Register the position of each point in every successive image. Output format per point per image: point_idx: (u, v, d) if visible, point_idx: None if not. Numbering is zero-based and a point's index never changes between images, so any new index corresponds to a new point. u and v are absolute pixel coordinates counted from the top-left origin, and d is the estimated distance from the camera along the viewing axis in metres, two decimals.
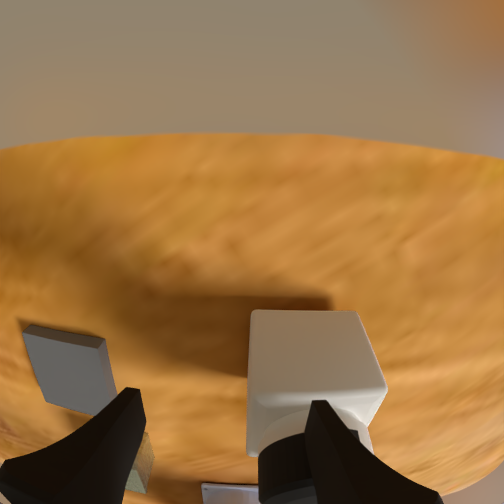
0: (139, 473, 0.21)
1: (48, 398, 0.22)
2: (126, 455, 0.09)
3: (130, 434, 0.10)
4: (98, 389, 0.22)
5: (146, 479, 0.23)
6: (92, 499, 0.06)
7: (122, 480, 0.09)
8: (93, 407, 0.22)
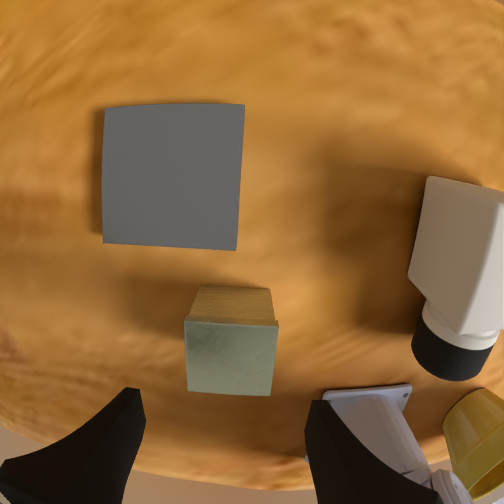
0: None
1: (111, 233, 0.17)
2: (126, 455, 0.09)
3: (130, 434, 0.10)
4: (223, 182, 0.16)
5: None
6: (92, 499, 0.06)
7: (122, 480, 0.09)
8: (198, 228, 0.17)
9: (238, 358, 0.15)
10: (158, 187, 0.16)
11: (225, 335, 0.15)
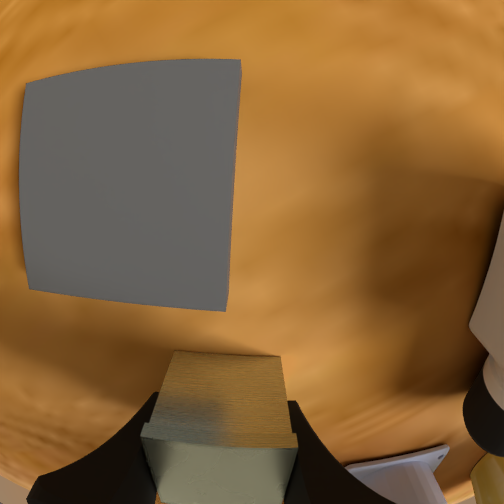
0: None
1: (37, 275, 0.10)
2: None
3: None
4: (202, 196, 0.09)
5: None
6: None
7: (154, 487, 0.09)
8: (162, 274, 0.10)
9: (232, 480, 0.08)
10: (95, 205, 0.09)
11: (209, 458, 0.08)
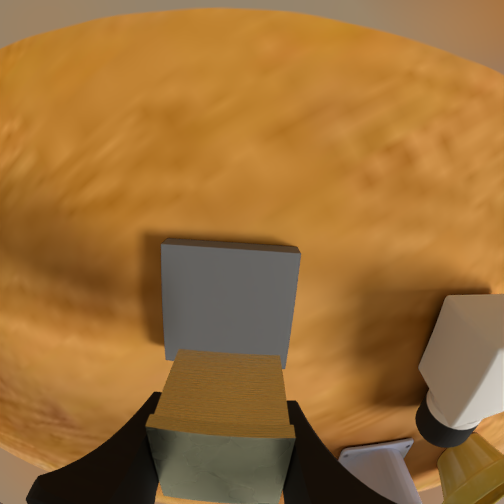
0: None
1: (173, 353, 0.19)
2: None
3: None
4: (278, 320, 0.19)
5: None
6: None
7: (154, 487, 0.09)
8: None
9: (232, 471, 0.09)
10: (219, 322, 0.19)
11: (211, 448, 0.08)
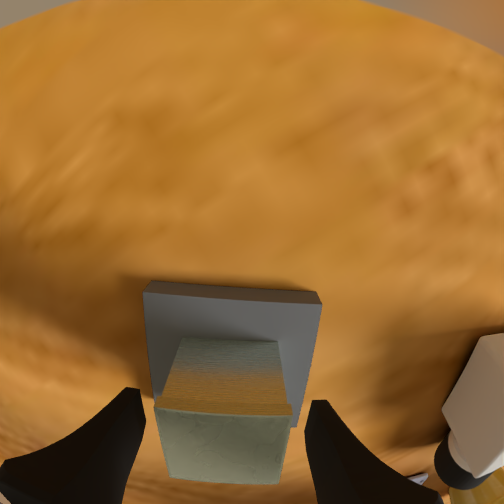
0: None
1: None
2: (126, 455, 0.09)
3: (130, 434, 0.10)
4: (290, 379, 0.15)
5: None
6: (92, 499, 0.06)
7: (122, 480, 0.09)
8: None
9: (234, 450, 0.10)
10: None
11: (214, 427, 0.09)
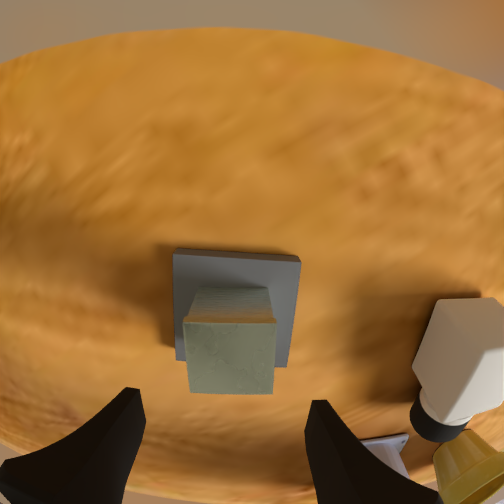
0: None
1: (183, 354, 0.21)
2: (126, 455, 0.09)
3: (130, 434, 0.10)
4: (280, 322, 0.20)
5: None
6: (92, 499, 0.06)
7: (122, 480, 0.09)
8: None
9: (238, 357, 0.15)
10: None
11: (224, 335, 0.15)
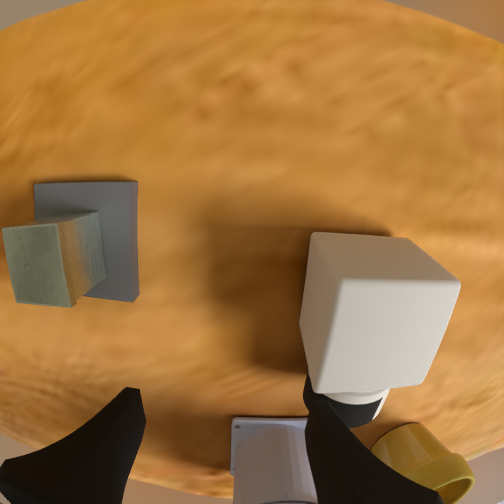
0: (62, 240, 0.14)
1: None
2: (126, 455, 0.09)
3: (130, 434, 0.10)
4: (118, 248, 0.19)
5: (79, 284, 0.16)
6: (92, 499, 0.06)
7: (122, 480, 0.09)
8: (104, 283, 0.20)
9: (37, 261, 0.14)
10: None
11: (25, 238, 0.14)
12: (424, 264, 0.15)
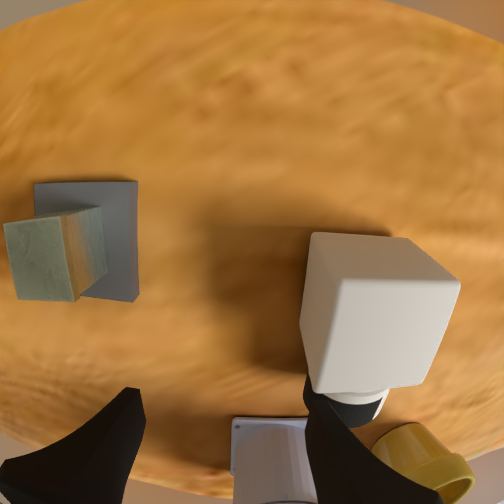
0: (65, 233, 0.14)
1: None
2: (126, 455, 0.09)
3: (130, 434, 0.10)
4: (118, 248, 0.19)
5: (81, 279, 0.16)
6: (92, 499, 0.06)
7: (122, 480, 0.09)
8: (104, 284, 0.20)
9: (40, 256, 0.14)
10: None
11: (27, 232, 0.14)
12: (424, 264, 0.15)
